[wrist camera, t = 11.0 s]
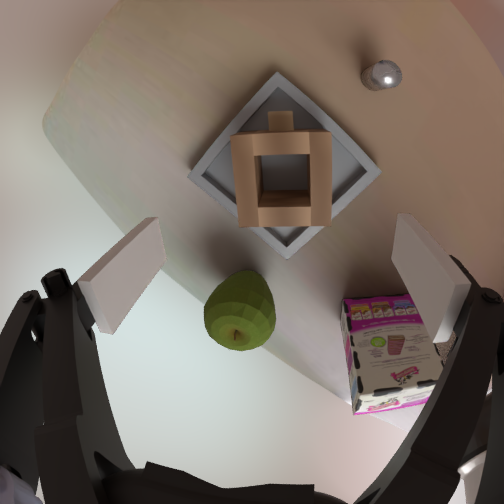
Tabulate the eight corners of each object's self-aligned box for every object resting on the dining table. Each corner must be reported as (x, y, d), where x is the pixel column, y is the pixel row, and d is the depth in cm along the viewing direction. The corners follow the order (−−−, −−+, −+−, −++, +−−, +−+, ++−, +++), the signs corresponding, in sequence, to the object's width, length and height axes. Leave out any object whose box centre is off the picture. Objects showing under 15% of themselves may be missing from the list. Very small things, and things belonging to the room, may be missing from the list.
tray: (376, 168, 29) (381, 172, 27) (287, 252, 36) (286, 260, 34) (277, 74, 26) (276, 71, 24) (192, 173, 32) (186, 176, 31)
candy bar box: (339, 323, 40) (350, 417, 26) (341, 297, 38) (357, 395, 24) (406, 317, 38) (436, 402, 24) (412, 292, 36) (451, 379, 22)
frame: (322, 110, 26) (330, 110, 21) (324, 206, 32) (331, 226, 26) (239, 114, 28) (227, 114, 23) (247, 207, 33) (238, 227, 28)
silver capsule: (389, 81, 24) (407, 76, 19) (374, 95, 25) (390, 92, 20) (371, 63, 23) (386, 54, 18) (356, 77, 24) (369, 71, 20)
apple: (235, 241, 36) (213, 295, 26) (292, 271, 37) (290, 333, 27) (209, 287, 40) (184, 345, 30) (260, 313, 41) (249, 374, 31)
